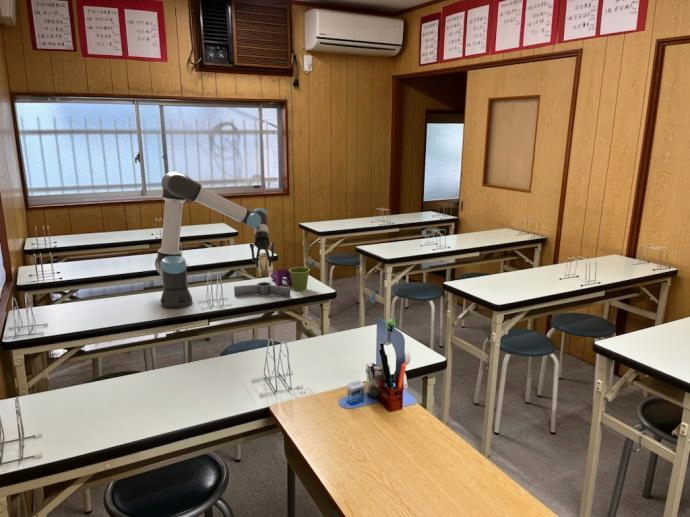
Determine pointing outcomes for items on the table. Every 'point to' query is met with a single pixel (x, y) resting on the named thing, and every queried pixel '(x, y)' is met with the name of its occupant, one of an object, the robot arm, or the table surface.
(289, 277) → the purple irregular piece
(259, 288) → the steel hinge
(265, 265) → the hinge pin
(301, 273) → the plant pot
